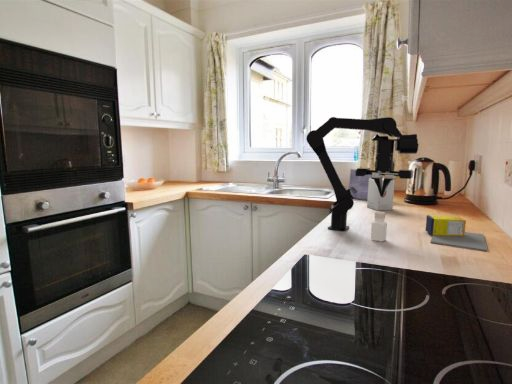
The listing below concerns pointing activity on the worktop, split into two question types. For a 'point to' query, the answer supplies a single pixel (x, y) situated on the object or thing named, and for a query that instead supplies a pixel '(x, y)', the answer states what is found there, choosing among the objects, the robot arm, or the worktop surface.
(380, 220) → the pepper shaker
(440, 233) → the supplement box
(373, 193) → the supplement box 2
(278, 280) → the worktop surface
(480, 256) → the worktop surface
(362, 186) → the cake pan box
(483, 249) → the rubber mat
